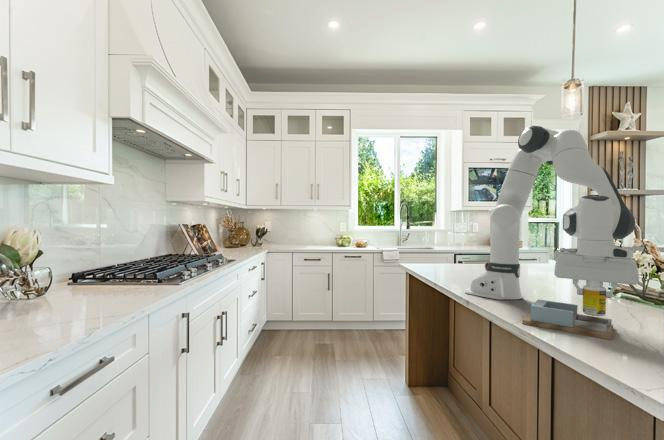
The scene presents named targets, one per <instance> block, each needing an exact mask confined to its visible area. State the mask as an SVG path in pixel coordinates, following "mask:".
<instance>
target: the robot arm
mask: <svg viewBox="0 0 664 440" xmlns="http://www.w3.org/2000/svg"><path fill="white" fill-rule="evenodd" d="M517 145H518V148H519V149H518V150H517V152H516V153H515V154H514V157H513V159H512V161H511V162H510V165H509V167H508V169H507V172H506V174H505V177H504V179H503V183H502V186H501V188H500V192H499V193H498V197H497V200H496V204H495V206H494V208H493V209H492V210H491V212H490V216H489V220H490V221H489V223H490V226H489V227H490V228H489V229H490V230H489V235H490V237H489V238H490V239H489V240H490V241H489V243H490V246H489V247H490V251H489V252H490V253H489V255H490V256H489V261H488V262H486V263H485V264H484V269H485V270H483V271H481V272H480V273H479V274H477V275H476V276H474V277H473V278H472V280H471V283H470V287H468V288H465V290H464V293H465V295H466V294H468V295H473V296H478V297H484V298H488V299H494V300H520V299H523V294H522V291H521V286H520V285H521V283H520V277H521V264H520V234H521V232H520V230H521V229H520V228H521V227H520V226H521V225H520V224H521V217H522V215H523V212H524V209H525V206H526V205H527V201H528V200H529V197H530V195H531V191H532V189H533V187H534V184H535V181H536V179H537V176H538V173H539V170H540V168H541V166H543V164H544V163H547V164H548V165H549V166H550V165H552V166H553V169H554V173H555V174H556V176H557V177H558V178H560V180H563V181H564V182H566V183H571V184H576V185H580V186H583V187H587V188H588V189H591V190H593V191H595V192H596V193H597V195H595V194H594V195H593V194H591V195H590V194H588V195H584V196H581V197H580V198H579V200H578V204H577V205H576V206H575V207H571V208H570V209H567V211H566V212H564V214H562V215H563V216H562V230H563V231H564V232H565V233H566V234H568V235H569V236H571V237H575V238H576V248H565V247H560V248H559V249H558V248H557V249H555V251H554V252H553V260H554V261H555V266H554V272H553V273H554V276H555V277H556V278H557V279H567V280H568V279H569V280H572V284H573V285H574V287H575V289H576V295H579V296H580V295H581V296H583V287H582V288H581V287H580V285H579V282H580V281H586V280H588V281H599V282H603V283H610V287H611V288H610V290H606V299H613V293H614V292H615V291H616V289H617V287H618V284H620V285H621V284H622V285H631V286H632V285H633V286H636V285H638V284H639V282H640V277H639V276H640V275H639V269H638V264H637V263H636V261H635V260H634V259H633V257H634V251H633V250H631V249H629V248H626V247H622V246H620V245H615V244H614V240H623V239H626V237H628V236H629V235H631V234H632V233H633V232H634V231H635V229H636V219H635V215H634V214H633V212H632V211H631V210H630V208H628V206H627V205H626V203H625V202H624V200H623V198H622V196H621V194H620V192H619V190H618V188H617V187H616V184H615V183H614V181H613V179H612V177H611V176H610V174H609V172H608V170H607V169H606V168H604V167H602V166H600V165H599V164H598V163H596V162H595V161H594V159H593V158H592V157H591V155H590V151H589V148H588V145H587V142H586V140H585V139H584V137H583V135H582V133H580V132H579V131H578V130H575V129H567V130H563V131H560V132H559V131H557V130H553V129H549V128H546V127H543V126H540V125H529V126H527V127H526V128H525V129H523V131H521V133H520V134H519V137H518V140H517Z"/></svg>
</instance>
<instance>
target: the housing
mask: <svg viewBox="0 0 664 440" xmlns="http://www.w3.org/2000/svg"><path fill="white" fill-rule="evenodd" d="M578 306H579V305H578V304H575V303H574V304H573V303H567V302H560V301H552V300H545V299H537V300H535V302H533V303H532V304H531V305H530V313H531V317H530V320H532V321H538V322H544V323H550V324H555V325H561V326H567V327H573V315H574V314H578V308H579V307H578Z"/></svg>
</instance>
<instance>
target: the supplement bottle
mask: <svg viewBox="0 0 664 440" xmlns="http://www.w3.org/2000/svg"><path fill="white" fill-rule="evenodd" d="M585 283H586V284H585V285H583V286H582V288H583V295H582V312H583V314H584V315H587V316H593V317H604V316H606V313H607V312H606V307H607V305H606V303H607V298H606V291H607V289H606V287H604V286H603V285H604V282H599V281H588V280H585Z"/></svg>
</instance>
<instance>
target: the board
mask: <svg viewBox="0 0 664 440" xmlns="http://www.w3.org/2000/svg"><path fill="white" fill-rule="evenodd" d="M530 317H531V312H530V313H528V314H527V315H526V316H525V317H524V318H522V325H527V326H532V327H533V326H534V327H538V328H539V327H540V328H544V329H550V330H554V329H555V331H560V330H561V332H565V331H567V333H571V334H577V335H583V336H587V337H588V336H589V337H593V338H594V337H595V338H599V339H605V340H610V341H612V339H613V333H614V324H613V323H612V321H613V320H612V318H605V317H601V316H592V315H587V314H580V313H579V314H578V313H577V314H574V315H573V327H567V326H561V325H555V324H550V323H544V322H538V321H532V320H530Z"/></svg>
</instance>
